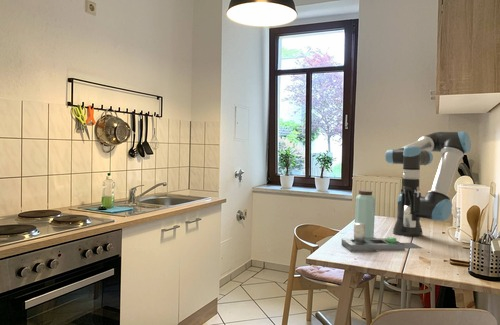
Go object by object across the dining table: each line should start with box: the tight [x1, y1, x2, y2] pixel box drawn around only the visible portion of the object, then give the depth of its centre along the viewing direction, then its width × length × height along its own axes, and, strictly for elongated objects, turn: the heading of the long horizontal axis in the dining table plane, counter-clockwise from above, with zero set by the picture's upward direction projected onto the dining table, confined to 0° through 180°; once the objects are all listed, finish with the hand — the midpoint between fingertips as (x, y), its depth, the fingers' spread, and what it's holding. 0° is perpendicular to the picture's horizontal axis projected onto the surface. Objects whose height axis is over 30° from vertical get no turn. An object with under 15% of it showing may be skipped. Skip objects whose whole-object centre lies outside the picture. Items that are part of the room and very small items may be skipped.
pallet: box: [341, 237, 406, 253], centre depth 174 cm, size 26×12×3 cm, turn 96°
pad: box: [401, 242, 423, 249], centre depth 178 cm, size 10×10×1 cm
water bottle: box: [354, 189, 376, 238], centre depth 192 cm, size 10×10×25 cm
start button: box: [387, 236, 397, 243], centre depth 175 cm, size 4×4×2 cm
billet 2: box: [404, 205, 414, 228], centre depth 177 cm, size 5×5×10 cm
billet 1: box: [353, 222, 365, 244], centre depth 173 cm, size 5×5×10 cm
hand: (409, 225), depth 178 cm, fingers closed on billet 2, 5 cm apart
